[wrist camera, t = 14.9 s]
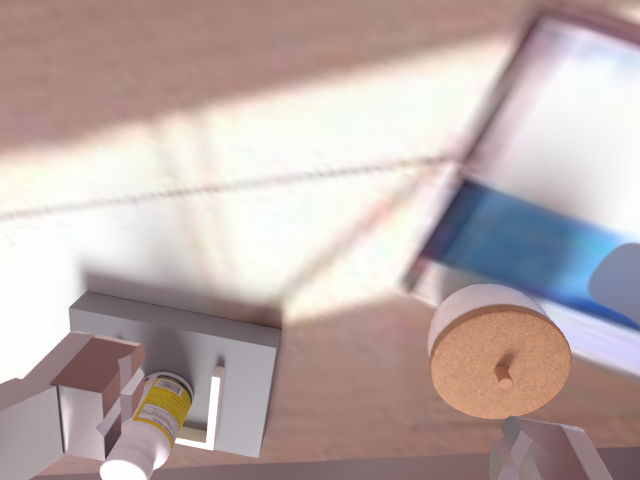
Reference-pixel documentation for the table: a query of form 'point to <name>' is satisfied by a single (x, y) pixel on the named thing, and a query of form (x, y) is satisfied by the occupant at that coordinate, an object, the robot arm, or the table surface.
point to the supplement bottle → (150, 429)
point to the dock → (197, 365)
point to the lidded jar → (496, 352)
